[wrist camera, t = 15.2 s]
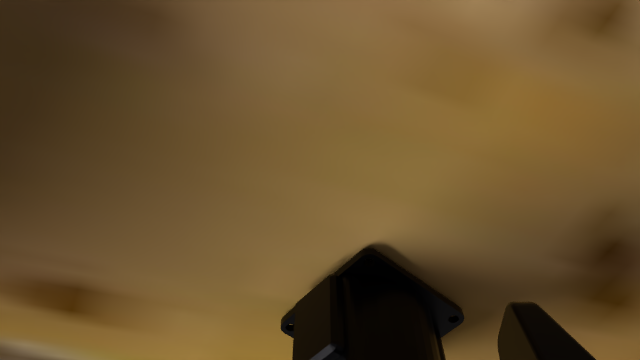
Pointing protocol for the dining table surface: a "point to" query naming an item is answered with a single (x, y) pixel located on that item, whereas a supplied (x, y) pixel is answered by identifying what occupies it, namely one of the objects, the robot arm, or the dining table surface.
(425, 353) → the robot arm
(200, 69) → the dining table surface
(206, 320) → the dining table surface
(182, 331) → the dining table surface
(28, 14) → the dining table surface
